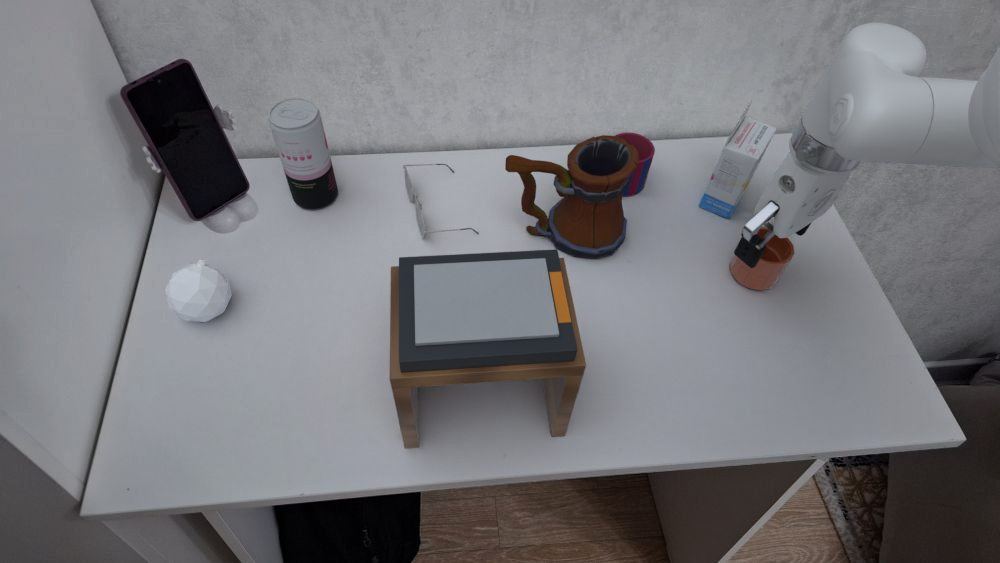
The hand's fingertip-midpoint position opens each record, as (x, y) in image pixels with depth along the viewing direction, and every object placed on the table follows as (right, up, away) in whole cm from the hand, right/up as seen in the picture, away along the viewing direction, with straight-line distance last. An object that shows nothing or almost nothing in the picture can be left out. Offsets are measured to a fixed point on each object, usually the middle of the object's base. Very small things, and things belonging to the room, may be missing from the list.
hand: (768, 244), depth 81 cm
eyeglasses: (-44, +6, +10) cm, 45 cm away
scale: (-37, -8, -20) cm, 43 cm away
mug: (-26, +2, +8) cm, 27 cm away
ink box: (-1, +8, +14) cm, 16 cm away
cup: (-18, +10, +15) cm, 25 cm away
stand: (-37, -18, -8) cm, 42 cm away
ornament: (-72, -8, -2) cm, 73 cm away
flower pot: (0, -4, +5) cm, 6 cm away
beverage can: (-62, +8, +11) cm, 64 cm away
